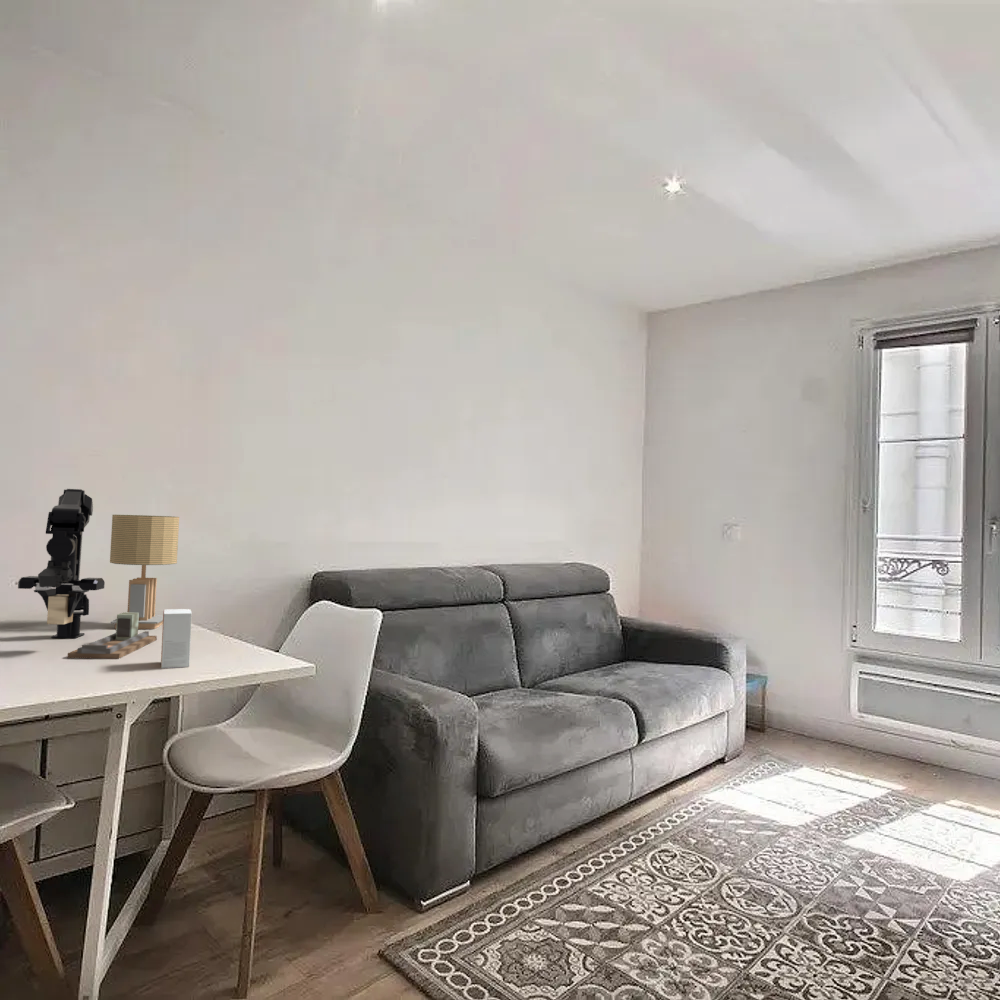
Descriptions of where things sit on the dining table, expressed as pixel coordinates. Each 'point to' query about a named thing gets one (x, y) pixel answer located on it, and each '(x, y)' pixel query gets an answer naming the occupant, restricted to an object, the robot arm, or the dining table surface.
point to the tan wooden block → (58, 610)
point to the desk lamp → (144, 558)
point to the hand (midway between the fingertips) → (60, 616)
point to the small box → (176, 638)
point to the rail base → (116, 640)
